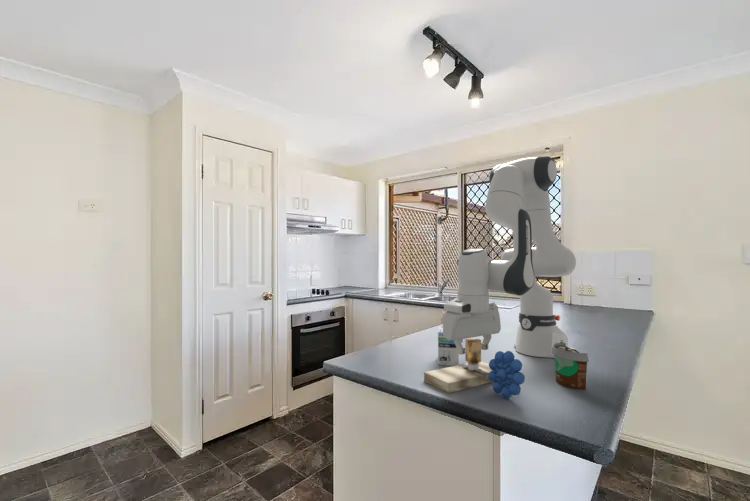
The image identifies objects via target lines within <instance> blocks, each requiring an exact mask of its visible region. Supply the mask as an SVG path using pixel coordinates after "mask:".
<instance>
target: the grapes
mask: <svg viewBox="0 0 750 501" xmlns="http://www.w3.org/2000/svg"><path fill="white" fill-rule="evenodd" d="M494 354H495V355H494V358H492V359H490V361H489V363H488V364H489V367H490V369H491V370H493V371H490V372H489V374H488V378H489V380H490V381H491V382H490V383H493V384H492V389H493V391H494V392H495V393H496V394H500V396H502V398H504V399H510V398H511V397H512V396H519V395H520V393H521V390H522V388H521V385H522V384H524V383H525V380H526V377H525V375H524V374H523V373H522V372H521V371H522V368H523V363H522V361H521V360H520V359H517V358H516V357H515V354H514V353H513V351H510V350H507V351H505V352H503V351H501V350H499V351H497V352H496V353H494Z"/></svg>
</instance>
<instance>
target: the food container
mask: <svg viewBox="0 0 750 501" xmlns="http://www.w3.org/2000/svg"><path fill="white" fill-rule="evenodd" d="M551 353H552V354H553V355H554V359H553V360H554V370H555V371H554V372H555V381H556V383H557V384H558V385H560V386H562V387H563V388H564V387H565V388H568V389H571V390H578V391H586V390H587V371H588V362H589V356H588V353H587V352H585V353H584V352H580V351H578V350H576V348H574V349H571V348H568V347H566V343H557V344H554V346H553V347H552V351H551Z"/></svg>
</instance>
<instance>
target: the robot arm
mask: <svg viewBox="0 0 750 501" xmlns="http://www.w3.org/2000/svg"><path fill="white" fill-rule="evenodd" d="M557 172H558V170H557V165H556V162H555V160H554V159H553V158H552V157H551V156H548V155H545V156H544V155H538V156H537V157H535V156H534V157H527V158H526V157H525V158H524V157H523V158H520V159H517V160H513V161H510V162H507V163H500V164H497V165H496V166H494V167H492V169H491V171H490V172H489V178H488V179H489V187H488V190H487V194H486V200H485V206H484V208H485V214H486V216H487V217H488V218H489V220H490V221H492V222H493V223H495V224H497V225H498V226H501V227H504V228H507V229H509V230H511V231H512V235H513V239H512V240H513V244H512V245H513V248H508V249H505V250H504V251H503V252H502V254H501V257H500V259H498V260H496V259H493V258H491V257H489V256H488V253H487V250H486V249H484V248H468V249H464V250H463V251H461V252H460V253H459V256H458V262H457V282H458V288H457V297H455V298H453V299H451V300H449V301H447V302H445V303H444V305H443V310H444V311H445V312H444V315H443V317H442V326H443V335H444V337H445V338H446V339H449V340H454V343H455V345H456V347H457V353H458V354H459V355H465V347H463V344H462V343H463V340H465V339H468V338H477V337H483V339H482V341H481V351H482V350H483V351H488V350H489V344H490V342H491V340H492V335H495V334H499V333H500V332H501V329H502V328H501V327H502V326H501V317H500V315H501V314H500V312H499V307H498V305H497V304H496V303H495V302H494V301H493V302H490V295H489V294H490V293H489V292H493V293H505V294H510V295H514V296H519V303H520V304H519V307H520V309H519V313H518V322H519V325H518V326H517V331H516V341H515V343H514V344H513V348H515V351H516V352H517V353H520V354H521V355H526V356H531V357H537V358H552V359H553V358H554V355H553V354H552V353H551V351H552V347H553V346H554V344H557V343H566V347H568V348H571V349H575V348H574V347H572V346H570V345H569V339H568V335H567V334H566V333H565V332H564V331H563V330H562V329H561V328H559V326H558V325H557V321H560V319H561V316H560V314H554V295H553V294H552V291H551V290H550V289H548V288H546V287H545V286H543V285H541V284H539V283H538V282H537V279H536V278H537V277H539V278H542V277H543V278H544V277H545V278H558V277H565V276H566V277H567V276H569V275H571V274H572V273H573V272H574V271H575V268H576V266H577V259H576V255H575V254H574V252H573V251H572V250H571V249H570V248H568V247H566V246H565V245H564V244H563V243H562V242H561V241H560V240H559V239H558V237H557V236H556V235H555V232H554V229H553V224H552V223H553V222H552V215H551V212H552V211H551V200H550V194H549V188H550V187H552V185H553V184H554V183H555V181H556V179H557ZM533 242H534V244H535V246H533Z"/></svg>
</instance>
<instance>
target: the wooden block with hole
mask: <svg viewBox="0 0 750 501" xmlns="http://www.w3.org/2000/svg"><path fill="white" fill-rule="evenodd" d="M490 371H493V370H491V369H490V367H489V363H487V362H485V361H481V362H480V363H479V371H476V372H470V371H468V362H467V363H459V365H457V366H447V367H444V368H437V369H433V370H429V371H424V372H423V381H424V382H425V383H427V384H430V385H432V386H433V387H435V388H438V389H439V390H441V391H443V392H445V393H448V394H450V393H455V392H458V391H462V390H465V389H469V388H474V387H478V386H481V385H485V384H489V383H492V382H491V381H490V380H489V378H488V374H489V372H490Z"/></svg>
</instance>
